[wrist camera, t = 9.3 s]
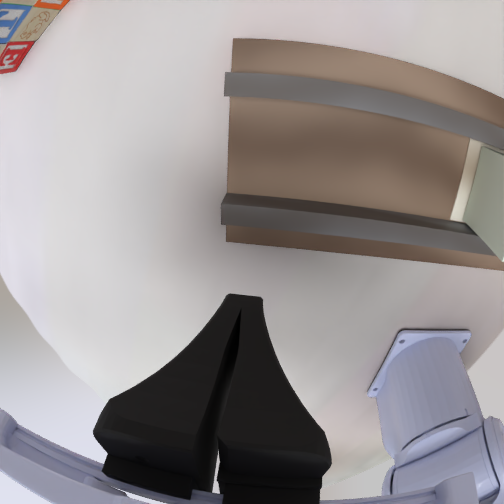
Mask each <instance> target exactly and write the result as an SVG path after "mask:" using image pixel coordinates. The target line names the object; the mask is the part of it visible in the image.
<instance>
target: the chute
mask: <svg viewBox="0 0 504 504" xmlns="http://www.w3.org/2000/svg"><path fill="white" fill-rule="evenodd" d="M224 96H230V113H229V140H228V173H227V194H226V196H225V198H224V200H223V202H222V203H221V224H222V225H226V242H235V243H246V244H256V245H266V246H276V247H286V248H296V249H306V250H316V251H326V252H336V253H346V254H355V255H365V256H374V257H384V258H393V259H403V260H412V261H421V262H430V263H439V264H448V265H457V266H466V267H475V268H484V269H493V270H502V271H504V262H502V261H501V260H500V259H499V258H498V257H497V256H496V254H495V253H494V252H493V251H492V250H491V249H490V248H489V247H488V245H487V244H486V243H485V242H484V241H483V240H482V239H481V238H480V237H479V236H478V235H477V234H476V233H475V232H474V231H473V230H472V229H471V228H470V226H469V225H468V224H467V223H466V222H465V221H464V220H463V218H464V214H465V211H466V208H467V205H468V201H469V198H470V194H471V190H472V187H473V183H474V179H475V175H476V171H477V167H478V162H479V158H480V153H481V148H482V146H484V147H487V148H490V149H492V150H495V151H498V152H500V153H503V154H504V99H503V98H501V97H499V96H497V95H494V94H492V93H490V92H488V91H486V90H483V89H481V88H479V87H476V86H474V85H471V84H469V83H466V82H464V81H461V80H459V79H456V78H453V77H451V76H448V75H445V74H442V73H439V72H436V71H433V70H430V69H427V68H424V67H421V66H418V65H414V64H411V63H407V62H404V61H400V60H396V59H392V58H388V57H384V56H380V55H376V54H371V53H367V52H362V51H357V50H351V49H346V48H340V47H334V46H327V45H320V44H313V43H304V42H294V41H283V40H268V39H239V38H233V50H232V69H231V72H225V86H224Z"/></svg>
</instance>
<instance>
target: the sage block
mask: <svg viewBox="0 0 504 504" xmlns="http://www.w3.org/2000/svg"><path fill="white" fill-rule="evenodd" d="M463 220H464V221H465V222H466V223H467V224H468V225H469V226H470V228H471V229H472V230H473V231H474V232H475V233H476V234H477V235H478V236H479V237H480V238H481V239H482V240H483V241H484V242H485V243H486V244H487V245H488V247H489V248H490V249H491V250H492V251H493V252H494V253H495V254H496V256H497V257H498V258H499V259H500V260H501V261H502V262H504V154H503V153H500V152H498V151H495V150H492V149H490V148H487V147H484V146H482V148H481V153H480V158H479V162H478V167H477V171H476V175H475V179H474V183H473V187H472V190H471V194H470V198H469V201H468V205H467V208H466V211H465V214H464V218H463Z"/></svg>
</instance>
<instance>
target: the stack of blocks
mask: <svg viewBox="0 0 504 504" xmlns="http://www.w3.org/2000/svg"><path fill="white" fill-rule="evenodd" d="M68 1H69V0H0V74H3V73H9V72H14V71H16V70H17V68H18V66H19V65H20V63H21V62H22V60H23V58H24V57H25V55H26V54H27V52H28V51H29V50H30V48H31V46H32V45H33V44H34V42H35V41H36V40H37V39H38V38H39V37H40V36H41V34H42V33H43V32H44V30H45V29H46V28H47V27H48V25H49V24H50V23H51V22H52V20H53V19H54V18H55V17H56V15H57V14H58V13H59V11H60V10H61V9H62V8H63V7H64V6H65V5H66V4H67V3H68Z"/></svg>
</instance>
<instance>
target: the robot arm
mask: <svg viewBox="0 0 504 504" xmlns="http://www.w3.org/2000/svg"><path fill="white" fill-rule="evenodd" d="M470 337H471V332H470V331H416V330H403V331H401V332H400V333H399V334H398V336H397V338H396V340H395V342H394V344H393V346H392V348H391V350H390V352H389V354H388V356H387V358H386V360H385V361H384V363H383V365H382V367H381V369H380V371H379V373H378V374H377V376H376V378H375V380H374V382H373V383H372V385H371V387H370V389H369V390H368V392H367V395H368V397H376V399H377V406H378V412H379V418H380V425H381V432H382V440H383V444H384V447H385V449H386V451H387V452H388V454H389V455H390V456H391V457H392V458H393V459H394V460H395V465H394V466H392V467H391V468H390V469H389V470H388V472H387V474H386V476H385V479H384V482H383V486H382V496H377V497H369V498H358V499H345V500H322V501H320V489H321V488H322V476H323V475H324V474H325V473H326V472H327V470H328V469H329V468H330V466H331V464H332V459H331V453H330V448H329V444H328V441H327V438H326V435H325V432H324V431H323V430H322V428H321V427H320V426H319V425H318V424H317V423H316V421H315V420H314V419H313V418H312V416H311V415H310V414H309V412H308V411H307V410H306V408H305V407H304V405H303V404H302V403H301V401H300V399H299V398H298V396H297V395H296V393H295V391H294V390H293V388H292V387H291V385H290V383H289V381H288V379H287V377H286V376H285V374H284V372H283V370H282V367H281V365H280V363H279V361H278V359H277V356H276V354H275V351H274V348H273V346H272V343H271V340H270V337H269V333H268V330H267V326H266V322H265V317H264V312H263V299H262V298H261V297H257V296H247V295H238V294H228V295H226V297H225V299H224V301H223V302H222V304H221V305H220V307H219V308H218V310H217V311H216V313H215V314H214V315H213V317H212V318H211V319H210V321H209V322H208V323H207V324H206V326H205V327H204V328H203V329H202V330H201V332H200V333H199V334H198V335H197V336H196V337H195V338H194V339H193V340H192V341H191V343H190V344H189V345H188V346H187V347H186V348H185V349H183V350H182V351H181V352H180V353H179V354H178V355H177V356H176V357H175V358H174V359H172V360H171V361H170V362H169V363H167V364H166V365H165V366H164V367H162V368H161V369H160V370H158V371H157V372H156V373H154V374H153V375H151V376H150V377H148V378H147V379H145V380H144V381H142V382H141V383H139V384H137V385H136V386H134V387H132V388H130V389H129V390H127V391H125V392H123V393H121V394H119V395H117V396H115V397H113V398H111V399H109V401H108V402H107V404H106V406H105V407H104V409H103V411H102V412H101V414H100V416H99V418H98V421H97V423H96V425H95V428H94V430H93V435H94V437H95V438H96V440H97V441H98V443H100V445H101V446H102V447H103V448H104V450H105V451H106V452H107V453H108V455H107V457H106V460H105V463H104V464H102V463H99V462H97V461H94V460H91V459H89V458H87V457H84V456H82V455H79V454H77V453H74V452H72V451H70V450H68V449H66V448H64V447H61V446H59V445H57V444H55V443H53V442H50V441H49V440H47V439H45V438H43V437H41V436H39V435H37V434H35V433H33V432H31V431H30V430H28V429H26V428H24V427H22V426H21V425H19V424H17V422H16V421H15V420H14V418H13V417H12V416H11V415H9V414H8V413H7V412H5V411H4V410H2V409H1V408H0V471H1V472H3V473H4V474H6V475H7V476H8V477H10V478H12V479H13V480H14V481H16V482H17V483H19V484H21V485H22V486H24V487H25V488H27V489H28V490H30V491H32V492H33V493H35V494H37V495H38V496H40V497H42V498H44V499H45V500H47V501H49V502H51V503H53V504H149V503H146V502H142V501H139V500H135V499H132V498H129V497H128V496H127V495H126V493H125V492H123V491H126V492H129V493H132V494H135V495H139V496H142V497H145V498H149V499H152V500H156V501H160V502H163V503H167V504H504V426H503V424H502V422H501V420H500V419H497V418H493V417H492V416H490V417H488V418H487V419H484V418H483V415H482V412H481V409H480V406H479V403H478V401H477V398H476V395H475V392H474V390H473V387H472V384H471V382H470V379H469V376H468V374H467V371H466V369H465V367H464V364H463V362H462V359H461V357H460V353H461V352H462V350H463V349H464V347H465V345H466V344H467V342H468V341H469V339H470ZM218 449H219V458H220V464H219V470H218V476H217V481H218V483H219V490H220V494H217V493H212V490H213V483H214V476H215V468H216V461H217V455H218ZM111 486H112V487H111ZM113 487H115V488H113ZM116 488H117V489H116ZM118 489H120V490H123V491H120V490H118Z"/></svg>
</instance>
